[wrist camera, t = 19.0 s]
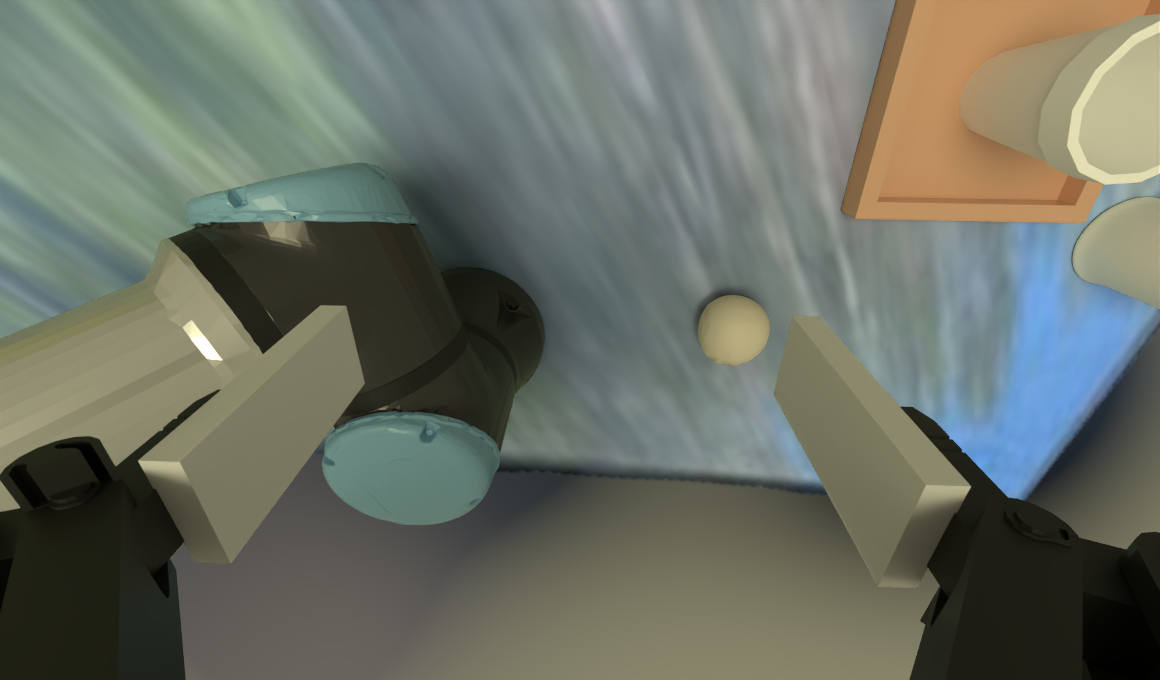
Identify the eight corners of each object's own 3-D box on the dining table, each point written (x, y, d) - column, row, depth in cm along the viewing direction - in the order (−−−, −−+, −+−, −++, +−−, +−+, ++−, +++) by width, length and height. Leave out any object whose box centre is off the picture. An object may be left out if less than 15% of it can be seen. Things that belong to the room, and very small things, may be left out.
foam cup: (1058, 0, 38) (1259, -30, 26) (1071, 115, 41) (1251, 133, 30) (927, 71, 40) (1058, 72, 29) (950, 174, 44) (1074, 210, 32)
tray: (1056, 214, 46) (1084, 223, 44) (840, 210, 47) (855, 218, 44) (1184, -56, 37) (1230, -65, 34) (911, -57, 37) (935, -67, 34)
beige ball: (684, 341, 54) (694, 374, 48) (703, 280, 50) (717, 307, 45) (743, 351, 54) (761, 385, 48) (767, 291, 51) (789, 319, 45)
